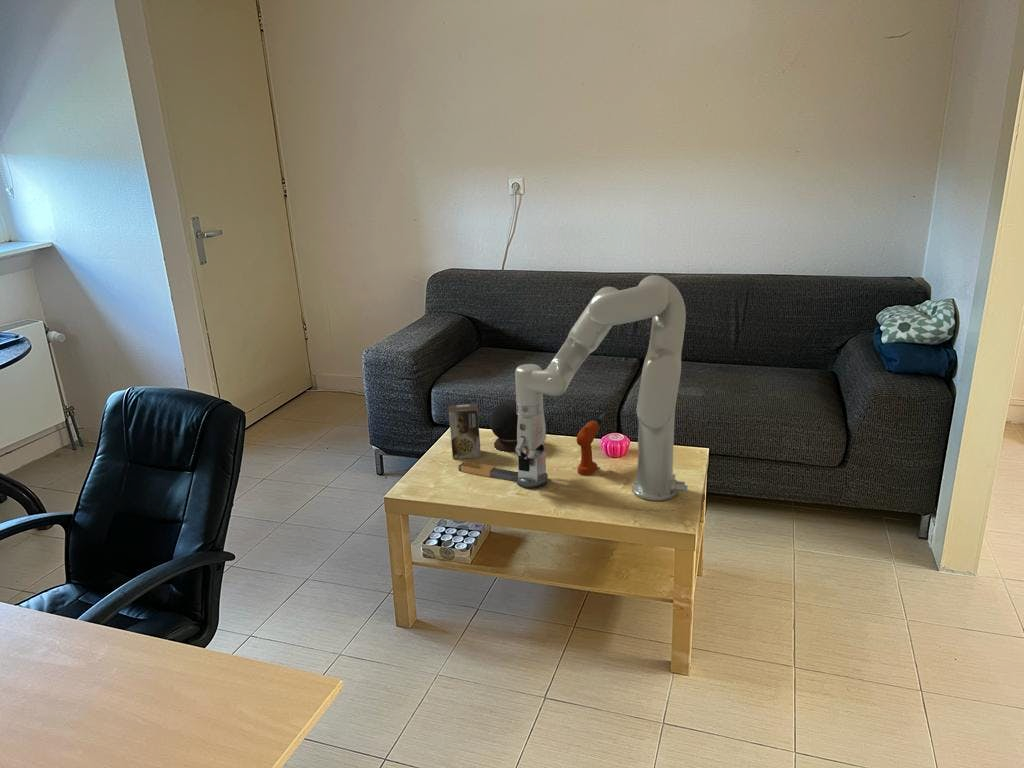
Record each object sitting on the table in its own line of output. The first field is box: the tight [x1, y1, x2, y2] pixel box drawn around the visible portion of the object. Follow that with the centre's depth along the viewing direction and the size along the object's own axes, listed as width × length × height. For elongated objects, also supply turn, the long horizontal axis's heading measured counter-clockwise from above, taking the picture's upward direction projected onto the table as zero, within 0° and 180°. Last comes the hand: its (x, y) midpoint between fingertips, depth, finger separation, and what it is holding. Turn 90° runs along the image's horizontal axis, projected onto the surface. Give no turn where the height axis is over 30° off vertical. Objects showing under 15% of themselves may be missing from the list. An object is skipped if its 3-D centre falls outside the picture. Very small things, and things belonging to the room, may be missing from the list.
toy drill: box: [576, 412, 607, 476], centre depth 219 cm, size 5×19×15 cm, turn 150°
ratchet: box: [458, 461, 549, 490], centre depth 215 cm, size 28×9×6 cm, turn 63°
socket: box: [517, 450, 547, 482], centre depth 210 cm, size 6×6×7 cm
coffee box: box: [448, 403, 482, 460], centre depth 230 cm, size 9×6×16 cm
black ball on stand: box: [489, 400, 527, 453], centre depth 236 cm, size 13×13×15 cm
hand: (531, 463), depth 210 cm, fingers open, 9 cm apart
